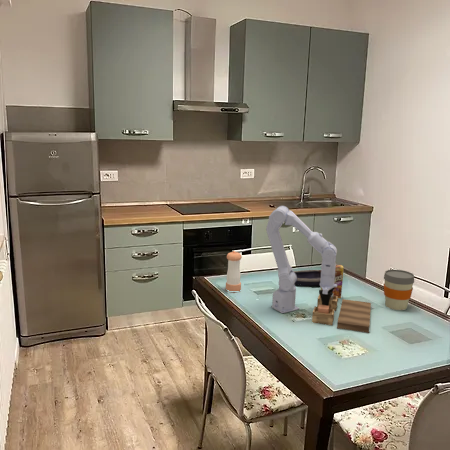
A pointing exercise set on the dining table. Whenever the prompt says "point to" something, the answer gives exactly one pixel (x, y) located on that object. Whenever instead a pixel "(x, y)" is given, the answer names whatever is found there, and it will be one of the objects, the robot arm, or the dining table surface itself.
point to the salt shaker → (233, 271)
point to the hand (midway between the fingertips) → (325, 304)
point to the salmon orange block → (323, 309)
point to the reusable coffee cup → (398, 288)
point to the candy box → (338, 280)
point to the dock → (354, 316)
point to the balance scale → (323, 317)
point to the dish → (308, 277)
